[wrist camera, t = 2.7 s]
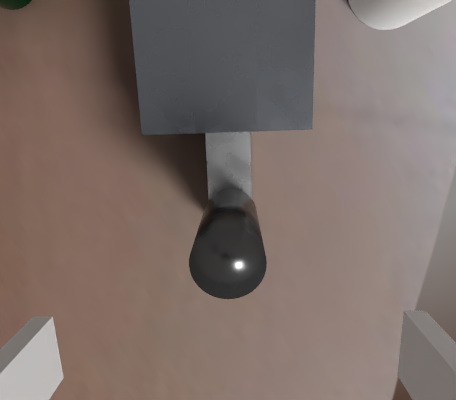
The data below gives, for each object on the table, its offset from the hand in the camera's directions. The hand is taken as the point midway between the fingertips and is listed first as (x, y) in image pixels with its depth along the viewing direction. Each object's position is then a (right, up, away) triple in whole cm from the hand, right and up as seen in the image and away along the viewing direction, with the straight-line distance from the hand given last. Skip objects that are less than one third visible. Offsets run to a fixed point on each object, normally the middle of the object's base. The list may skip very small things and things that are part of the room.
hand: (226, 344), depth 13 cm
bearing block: (0, +17, +18) cm, 25 cm away
